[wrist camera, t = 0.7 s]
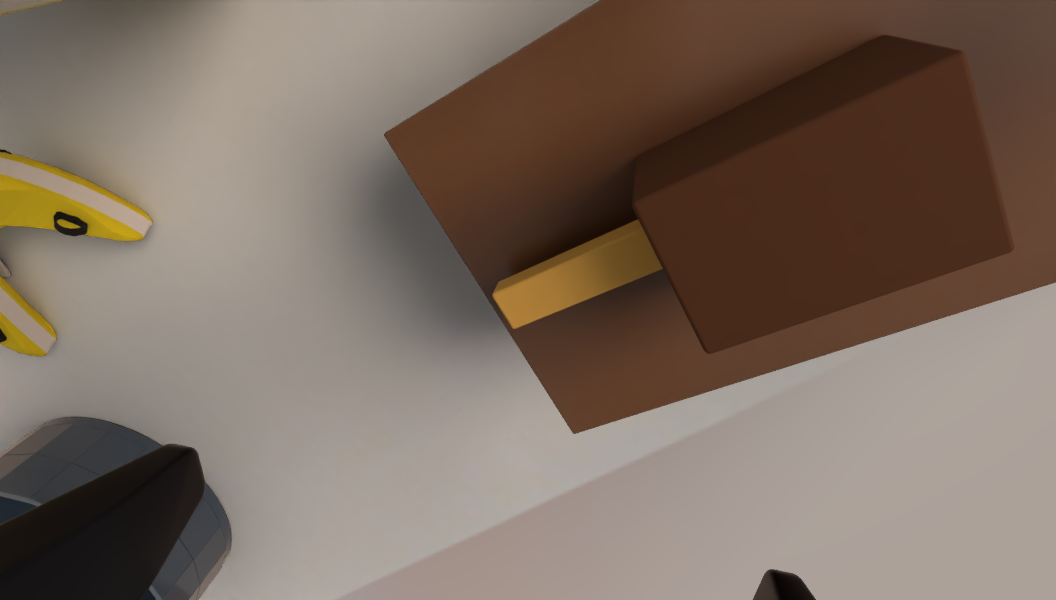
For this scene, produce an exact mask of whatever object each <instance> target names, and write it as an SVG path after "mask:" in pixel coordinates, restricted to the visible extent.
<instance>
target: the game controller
mask: <svg viewBox="0 0 1056 600" xmlns="http://www.w3.org/2000/svg"><path fill="white" fill-rule="evenodd" d="M152 223H153V222H152V220H151V218H150V217H149V216H148V215H147V214H146V213H145V212H143V211H142V210H141V209H139V208H138V207H136V206H135V205H133V204H131V203H129V202H128V201H126V200H124V199H122V198H120V197H119V196H117V195H115V194H113V193H111V192H110V191H108V190H106V189H104V188H102V187H100V186H98V185H96V184H94V183H91V182H89V181H87V180H85V179H83V178H81V177H78V176H76V175H74V174H71V173H69V172H66V171H64V170H61V169H59V168H56V167H54V166H51V165H48V164H44V163H41V162H38V161H35V160H32V159H29V158H26V157H23V156H18V155H13V154H11V153H10V152H8V151H6V150H1V149H0V229H1V228H3V227H4V226H24V227H34V228H44V229H52V230H57V231H59V232H60V233H63V234H65V235H71V236H78V235H88V236H95V237H102V238H108V239H112V240H117V241H137V240H140V239H143V238H144V236H145V234H146V233H147V231H148V229H149V228H150V226H151V225H152ZM2 276H3V277H6V278H10V276H11V273H10V272H9V270H8V269H7V267H6V266H5V264H4V263H3V261H2V259H1V258H0V344H1V345H4V346H6V347H8V348H10V349H12V350H14V351H16V352H18V353H22V354H26V355H31V356H45V355H47V353H48V352H49V350H50V349H51V347H52V346H53V344H54V343H55V341H56V339H57V337H56V333H55V331H54V330H53V328H52V327H51V325H50V324H49V323H48V322H47V321H46V320H45V319H44V318H43V317H42V316H41V315H40V314H39V313H38V312H37V311H36V310H35V309H34V308H32V307H31V306H30V305H29V304H28V303H27V302H26V301H25V300H24V299H23V297H22V296H21V295H20V294H19V293H18V292H17V291H16V290H15V289H14V288H13V287H12V286H11V285H10V284H9V283H8V282H7V281H6V280H5V279H4V278H3V277H2Z"/></svg>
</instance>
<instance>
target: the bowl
mask: <svg viewBox="0 0 1056 600" xmlns="http://www.w3.org/2000/svg"><path fill="white" fill-rule="evenodd" d="M160 447H162V446H161V445H159V444H158V443H156V442H154V441H153V440H151V439H149V438H147V437H145V436H143V435H141V434H139V433H137V432H135V431H133V430H130V429H128V428H125V427H123V426H120V425H117V424H113V423H110V422H107V421H103V420H97V419H92V418H82V417H68V418H61V419H56V420H52V421H50V422H47V423H45V424H43V425H41V426H40V427H38V428H37V429H36V430H34V431H33V432H31V433H29V434H27V435H25V436H24V437H22V438H21V439H20V440H18V441H17V442H15V443H14V444H13V445H11V446H10V447H9V448H7V449H6V450H4V451H3V452H2V453H0V524H2V523H4V522H6V521H8V520H10V519H12V518H14V517H16V516H19V515H21V514H23V513H25V512H27V511H29V510H31V509H33V508H35V507H37V506H39V505H41V504H43V503H46V502H48V501H50V500H52V499H54V498H56V497H58V496H60V495H62V494H64V493H66V492H68V491H71V490H73V489H75V488H77V487H79V486H81V485H83V484H85V483H87V482H89V481H91V480H93V479H95V478H98V477H100V476H102V475H104V474H106V473H108V472H110V471H112V470H114V469H116V468H118V467H120V466H123V465H125V464H127V463H129V462H131V461H133V460H135V459H137V458H139V457H141V456H143V455H145V454H147V453H150V452H152V451H154V450H156V449H158V448H160ZM231 541H232V538H231V529H230V525H229V521H228V518H227V516H226V514H225V511H224V509H223V507H222V506H221V504H220V502H219V500H218V499H217V497H216V496H215V495H214V493H213V492H212V490H211V489H210V488H209V486H208V485H207V484H206V483H205V491H204V494H203V497H202V499H201V501H200V503H199V504H198V506H197V508H196V510H195V511H194V513H193V515H192V517H191V518H190V520H189V522H188V523H187V525H186V527H185V529H184V530H183V532H182V534H181V535H180V537H179V539H178V541H177V542H176V544H175V546H174V548H173V549H172V551H171V553H170V554H169V556H168V558H167V560H166V561H165V563H164V565H163V566H162V568H161V570H160V572H159V573H158V575H157V577H156V578H155V580H154V581H153V583H152V585H151V586H150V588H149V589H148V591H147V592H146V594H145V595H144V597H143V598H142V600H199V598H200V597H201V595H202V594H203V593H204V591H205V590H206V589H207V587H208V586H209V584H210V583H211V582H212V580H213V579H214V578H215V576H216V575H217V574H218V572H219V571H220V569H221V567H222V565H223V563H224V562H225V560H226V559H227V557H228V555H229V552H230V549H231Z"/></svg>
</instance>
